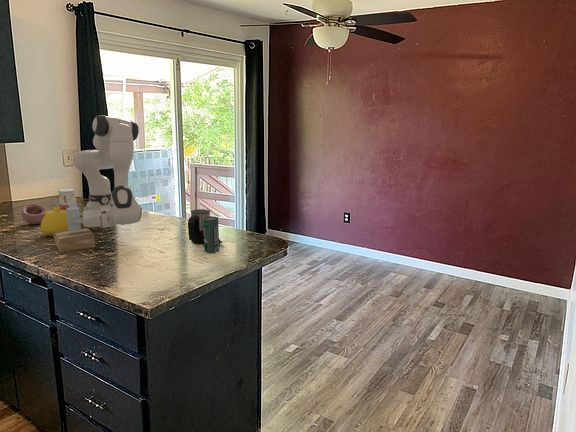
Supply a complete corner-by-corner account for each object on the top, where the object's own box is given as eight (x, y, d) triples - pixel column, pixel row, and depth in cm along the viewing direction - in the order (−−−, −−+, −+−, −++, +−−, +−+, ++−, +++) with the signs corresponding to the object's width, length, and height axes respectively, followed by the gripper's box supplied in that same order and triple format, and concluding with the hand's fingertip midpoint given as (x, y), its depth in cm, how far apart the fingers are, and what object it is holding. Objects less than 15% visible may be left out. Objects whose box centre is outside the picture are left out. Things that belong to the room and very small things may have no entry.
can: (208, 248, 194) (207, 216, 191) (221, 249, 193) (220, 217, 189) (202, 252, 189) (201, 219, 185) (215, 253, 187) (214, 220, 184)
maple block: (55, 245, 198) (54, 232, 197) (88, 240, 206) (87, 228, 205) (60, 252, 187) (59, 239, 186) (95, 247, 195) (94, 234, 194)
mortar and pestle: (28, 227, 227) (25, 206, 224) (18, 224, 234) (16, 203, 231) (52, 223, 236) (49, 202, 234) (42, 220, 243) (39, 200, 241)
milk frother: (194, 238, 210) (193, 208, 207) (226, 239, 210) (226, 209, 206) (186, 247, 196) (184, 215, 193) (220, 248, 196) (220, 216, 192)
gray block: (69, 229, 197) (66, 207, 195) (81, 228, 199) (79, 206, 197) (68, 231, 193) (66, 209, 190) (81, 230, 195) (78, 208, 192)
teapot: (32, 233, 216) (28, 206, 213) (64, 227, 228) (61, 202, 225) (50, 241, 204) (47, 212, 201) (83, 234, 216) (80, 207, 212)
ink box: (63, 209, 270) (61, 191, 268) (59, 208, 274) (57, 190, 271) (77, 208, 277) (75, 189, 274) (73, 206, 280) (72, 188, 277)
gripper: (103, 205, 208) (71, 208, 203) (105, 214, 190) (70, 217, 185) (104, 218, 210) (73, 221, 204) (106, 228, 192) (71, 231, 186)
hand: (71, 219), depth 194 cm, fingers closed on gray block, 5 cm apart
